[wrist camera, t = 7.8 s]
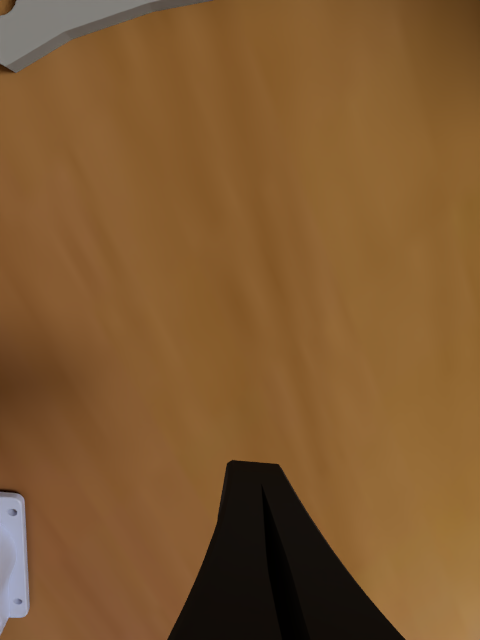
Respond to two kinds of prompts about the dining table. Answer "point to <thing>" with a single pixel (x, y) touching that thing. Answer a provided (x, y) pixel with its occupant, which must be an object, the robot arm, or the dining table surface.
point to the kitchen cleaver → (64, 24)
